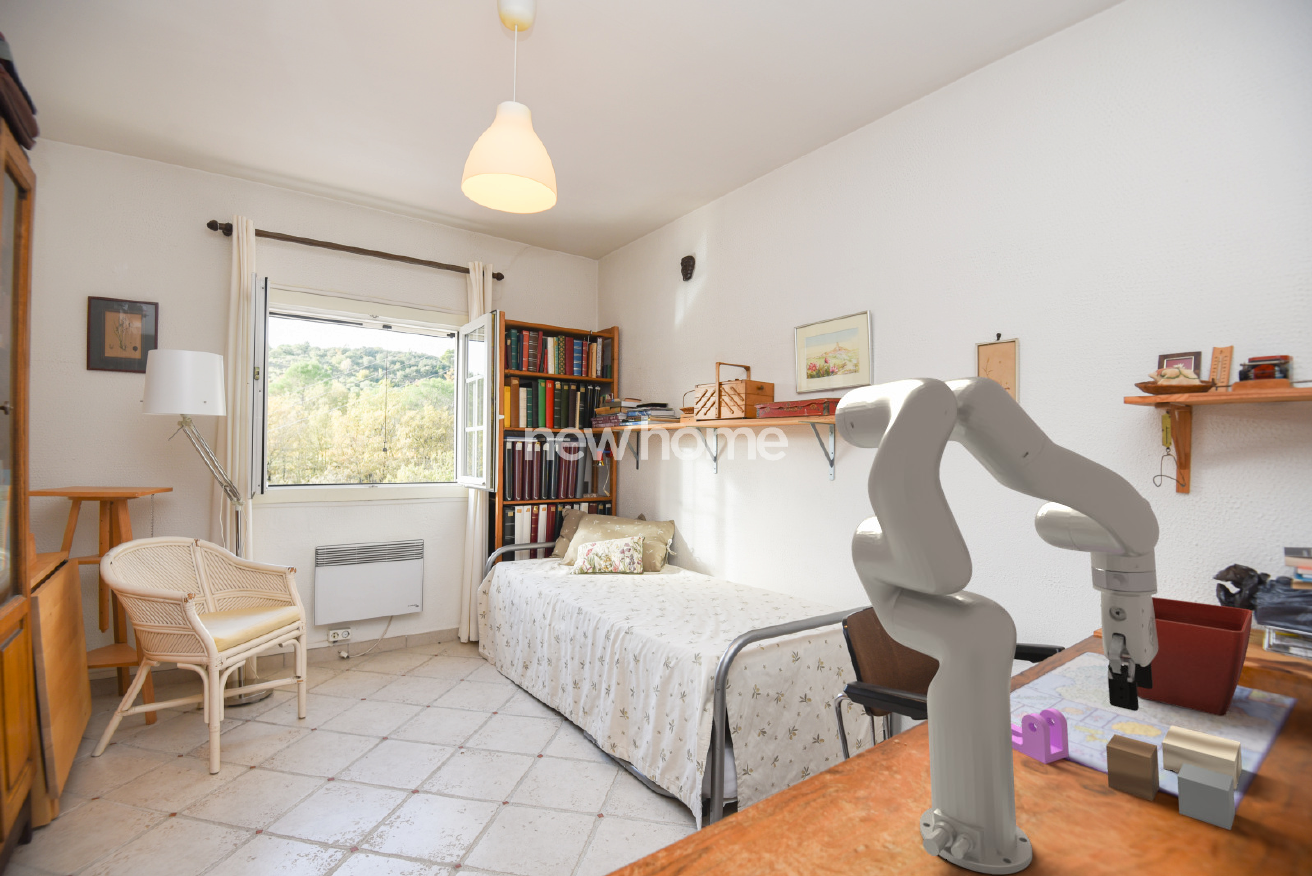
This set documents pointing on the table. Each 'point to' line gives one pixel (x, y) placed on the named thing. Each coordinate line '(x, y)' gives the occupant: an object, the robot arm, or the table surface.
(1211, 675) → the plant pot
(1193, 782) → the grey block
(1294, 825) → the table surface
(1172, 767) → the birch block
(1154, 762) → the walnut block
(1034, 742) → the bracket
